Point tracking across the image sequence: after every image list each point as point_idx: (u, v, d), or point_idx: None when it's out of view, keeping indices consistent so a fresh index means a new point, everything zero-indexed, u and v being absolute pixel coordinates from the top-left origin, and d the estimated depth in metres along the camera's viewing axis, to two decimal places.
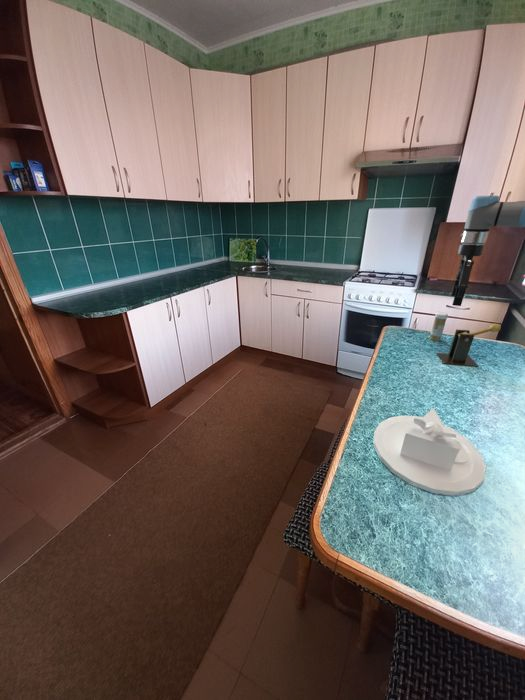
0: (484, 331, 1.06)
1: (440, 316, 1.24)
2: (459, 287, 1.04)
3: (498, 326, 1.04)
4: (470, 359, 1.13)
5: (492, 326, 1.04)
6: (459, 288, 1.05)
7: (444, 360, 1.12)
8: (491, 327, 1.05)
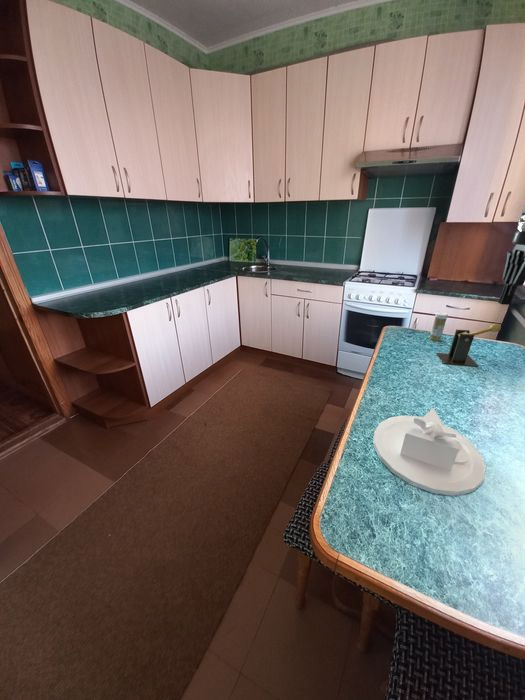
0: (484, 331, 1.06)
1: (440, 316, 1.24)
2: (513, 285, 0.95)
3: (498, 326, 1.04)
4: (470, 359, 1.13)
5: (492, 326, 1.04)
6: (510, 285, 0.97)
7: (444, 360, 1.12)
8: (491, 327, 1.05)
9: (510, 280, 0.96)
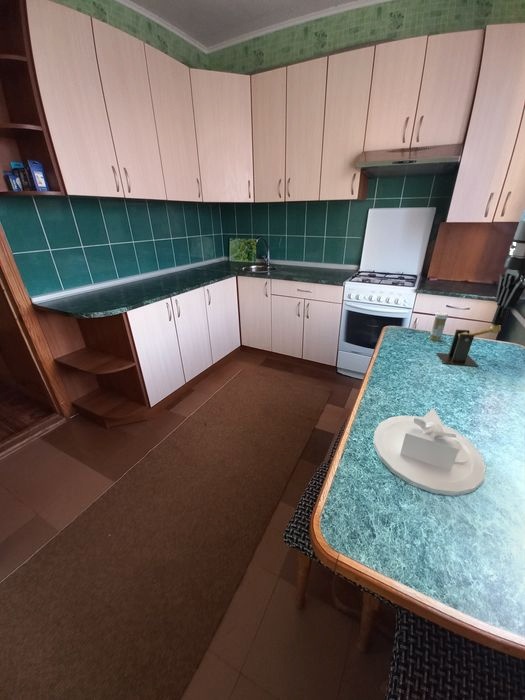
0: (484, 332, 1.06)
1: (440, 316, 1.24)
2: (505, 307, 0.99)
3: (498, 327, 1.04)
4: (470, 359, 1.13)
5: (492, 327, 1.05)
6: (502, 307, 1.00)
7: (444, 360, 1.12)
8: (491, 328, 1.05)
9: (502, 302, 1.00)
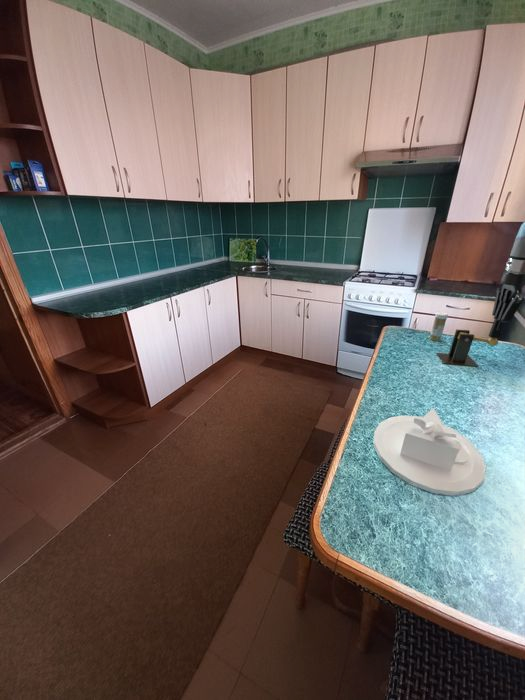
0: (483, 340, 1.07)
1: (440, 316, 1.24)
2: (501, 321, 1.01)
3: (497, 341, 1.06)
4: (470, 359, 1.13)
5: (492, 339, 1.06)
6: None
7: (444, 360, 1.12)
8: (490, 339, 1.07)
9: (498, 316, 1.02)
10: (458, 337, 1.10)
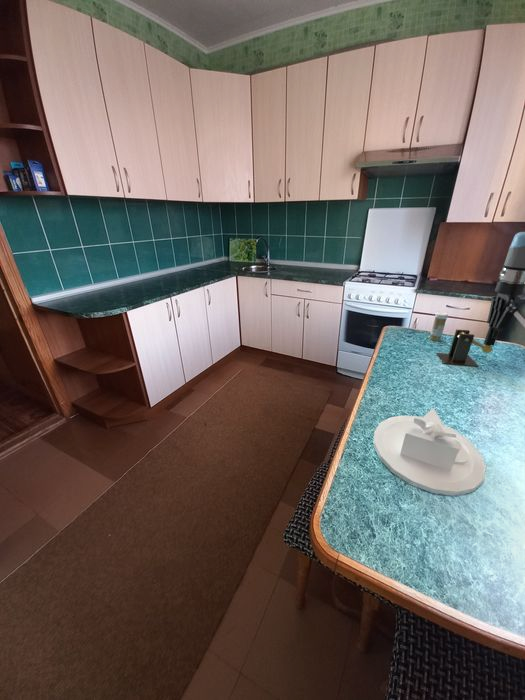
0: (479, 345, 1.08)
1: (440, 316, 1.24)
2: (496, 329, 1.02)
3: (491, 349, 1.08)
4: (470, 359, 1.13)
5: (488, 346, 1.08)
6: None
7: (444, 360, 1.12)
8: (486, 346, 1.08)
9: (493, 324, 1.04)
10: (458, 336, 1.09)
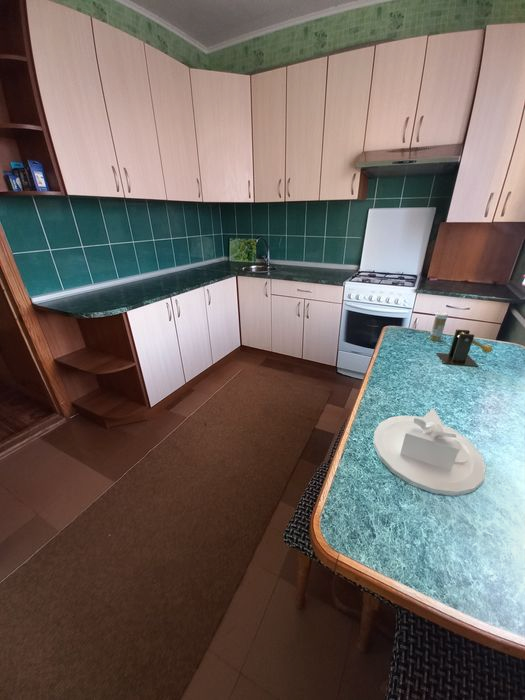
0: (479, 345, 1.08)
1: (440, 316, 1.24)
2: None
3: (491, 349, 1.08)
4: (470, 359, 1.13)
5: (488, 346, 1.08)
6: None
7: (444, 360, 1.12)
8: (486, 346, 1.08)
9: None
10: (458, 336, 1.09)
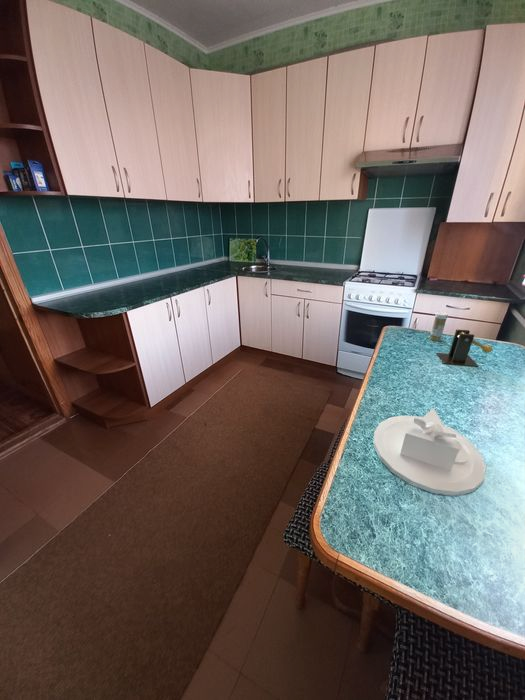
0: (479, 345, 1.08)
1: (440, 316, 1.24)
2: None
3: (491, 349, 1.08)
4: (470, 359, 1.13)
5: (488, 346, 1.08)
6: None
7: (444, 360, 1.12)
8: (486, 346, 1.08)
9: None
10: (458, 336, 1.09)
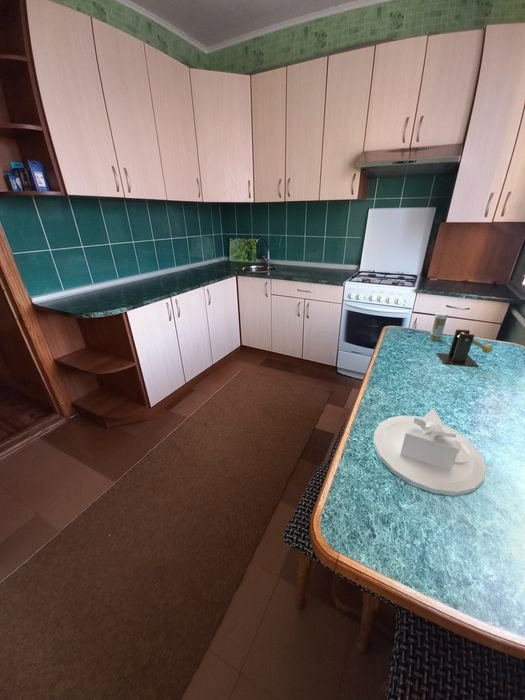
0: (479, 345, 1.08)
1: (440, 316, 1.24)
2: None
3: (491, 349, 1.08)
4: (470, 359, 1.13)
5: (488, 346, 1.08)
6: None
7: (444, 360, 1.12)
8: (486, 346, 1.08)
9: None
10: (458, 336, 1.09)
